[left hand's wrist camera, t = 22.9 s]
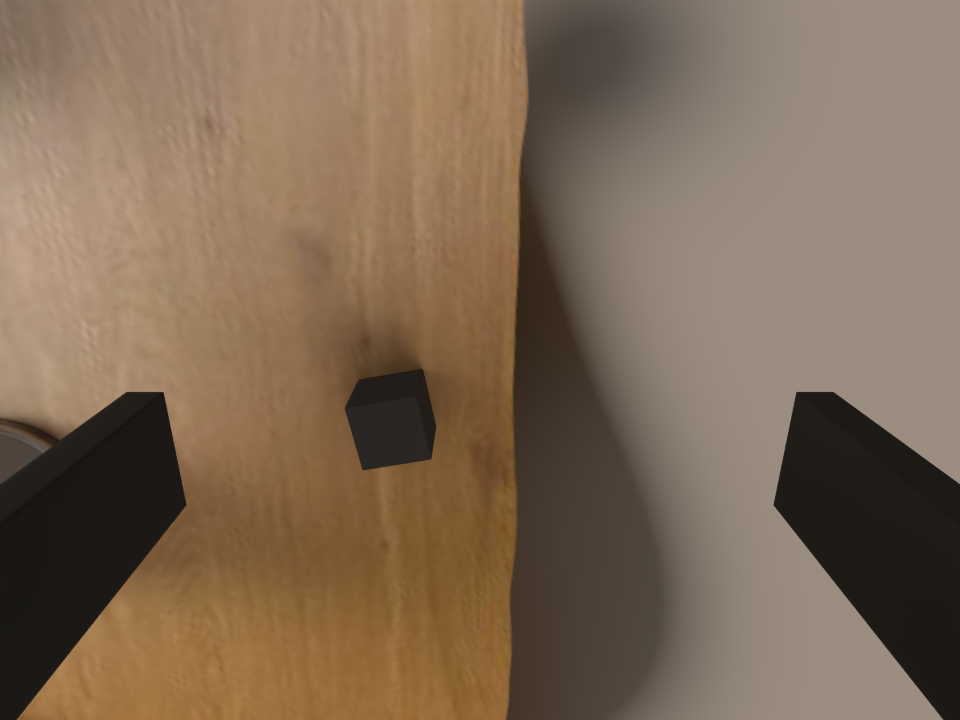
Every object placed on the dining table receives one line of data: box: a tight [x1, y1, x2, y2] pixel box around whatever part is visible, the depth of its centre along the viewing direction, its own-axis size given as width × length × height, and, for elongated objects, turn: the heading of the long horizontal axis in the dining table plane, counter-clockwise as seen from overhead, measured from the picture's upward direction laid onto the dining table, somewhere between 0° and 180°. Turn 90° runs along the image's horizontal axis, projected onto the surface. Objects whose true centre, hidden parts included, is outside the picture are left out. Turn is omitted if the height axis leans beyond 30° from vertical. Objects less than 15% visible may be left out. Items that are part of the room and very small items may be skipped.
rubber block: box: [345, 369, 436, 470], centre depth 44 cm, size 5×5×5 cm
